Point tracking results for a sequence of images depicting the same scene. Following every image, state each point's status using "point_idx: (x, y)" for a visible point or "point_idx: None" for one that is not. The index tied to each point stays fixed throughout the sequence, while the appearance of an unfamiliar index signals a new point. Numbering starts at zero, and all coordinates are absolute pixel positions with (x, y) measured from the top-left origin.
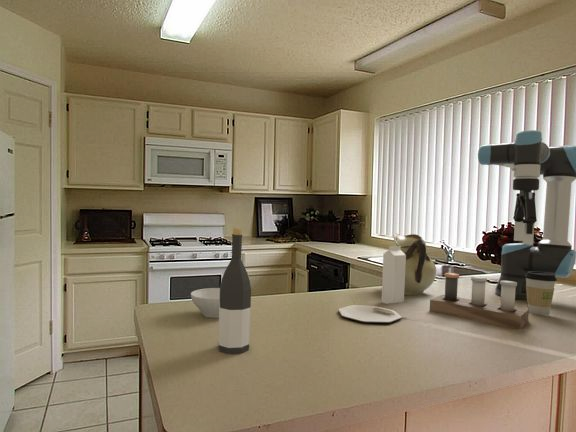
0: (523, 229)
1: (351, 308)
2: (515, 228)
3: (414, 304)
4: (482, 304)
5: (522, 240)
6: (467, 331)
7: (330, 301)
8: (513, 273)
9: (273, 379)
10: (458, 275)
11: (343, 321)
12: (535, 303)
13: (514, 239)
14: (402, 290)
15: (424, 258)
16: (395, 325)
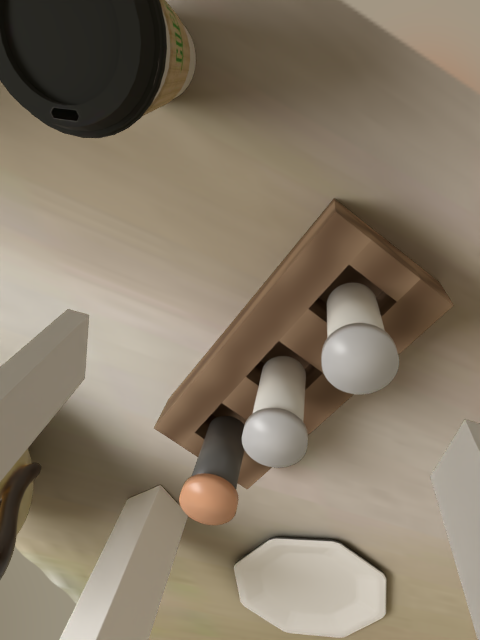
0: (17, 382)
1: (265, 607)
2: (16, 458)
3: (149, 458)
4: (303, 371)
5: (88, 322)
6: (431, 427)
7: (188, 617)
8: None
9: None
10: (227, 490)
11: (364, 632)
12: (175, 93)
13: (80, 383)
14: (151, 525)
15: (6, 549)
16: (386, 558)
